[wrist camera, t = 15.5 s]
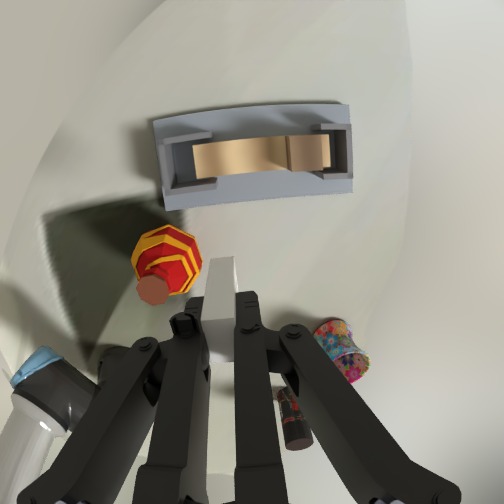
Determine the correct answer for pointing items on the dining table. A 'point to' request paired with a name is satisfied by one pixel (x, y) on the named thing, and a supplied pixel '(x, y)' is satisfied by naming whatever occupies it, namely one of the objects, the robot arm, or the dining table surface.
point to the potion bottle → (165, 263)
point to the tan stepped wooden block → (262, 155)
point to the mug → (343, 349)
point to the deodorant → (293, 423)
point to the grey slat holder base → (243, 127)
